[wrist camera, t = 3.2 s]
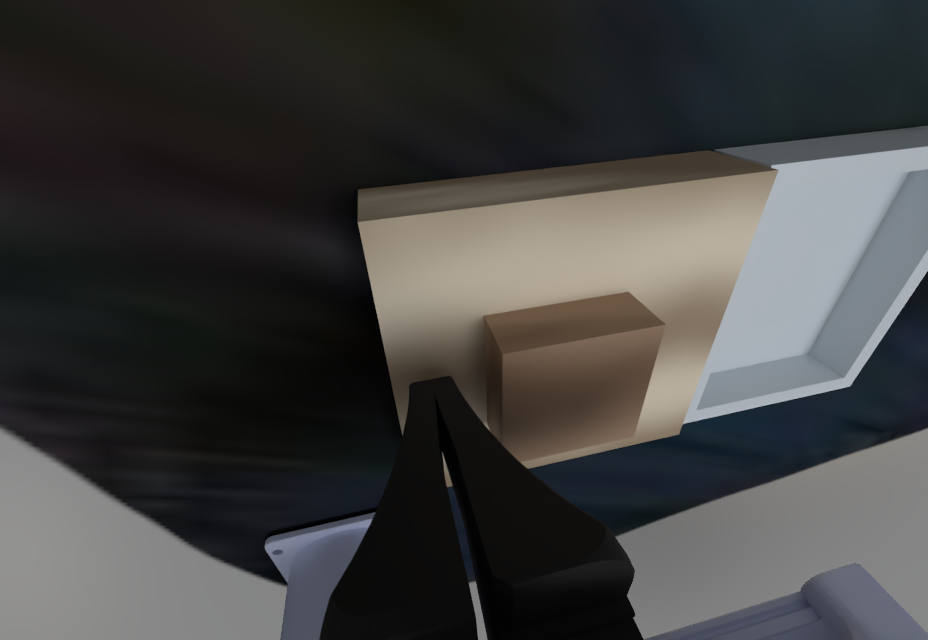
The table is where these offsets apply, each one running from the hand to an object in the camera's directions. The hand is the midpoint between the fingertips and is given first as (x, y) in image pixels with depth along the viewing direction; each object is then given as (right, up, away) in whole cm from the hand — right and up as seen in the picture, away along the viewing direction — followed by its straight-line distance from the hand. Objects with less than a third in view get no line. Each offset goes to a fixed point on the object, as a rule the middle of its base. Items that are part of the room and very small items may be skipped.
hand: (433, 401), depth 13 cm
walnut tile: (+4, +1, +1) cm, 5 cm away
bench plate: (+4, +3, +4) cm, 6 cm away
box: (+15, +5, +5) cm, 17 cm away
